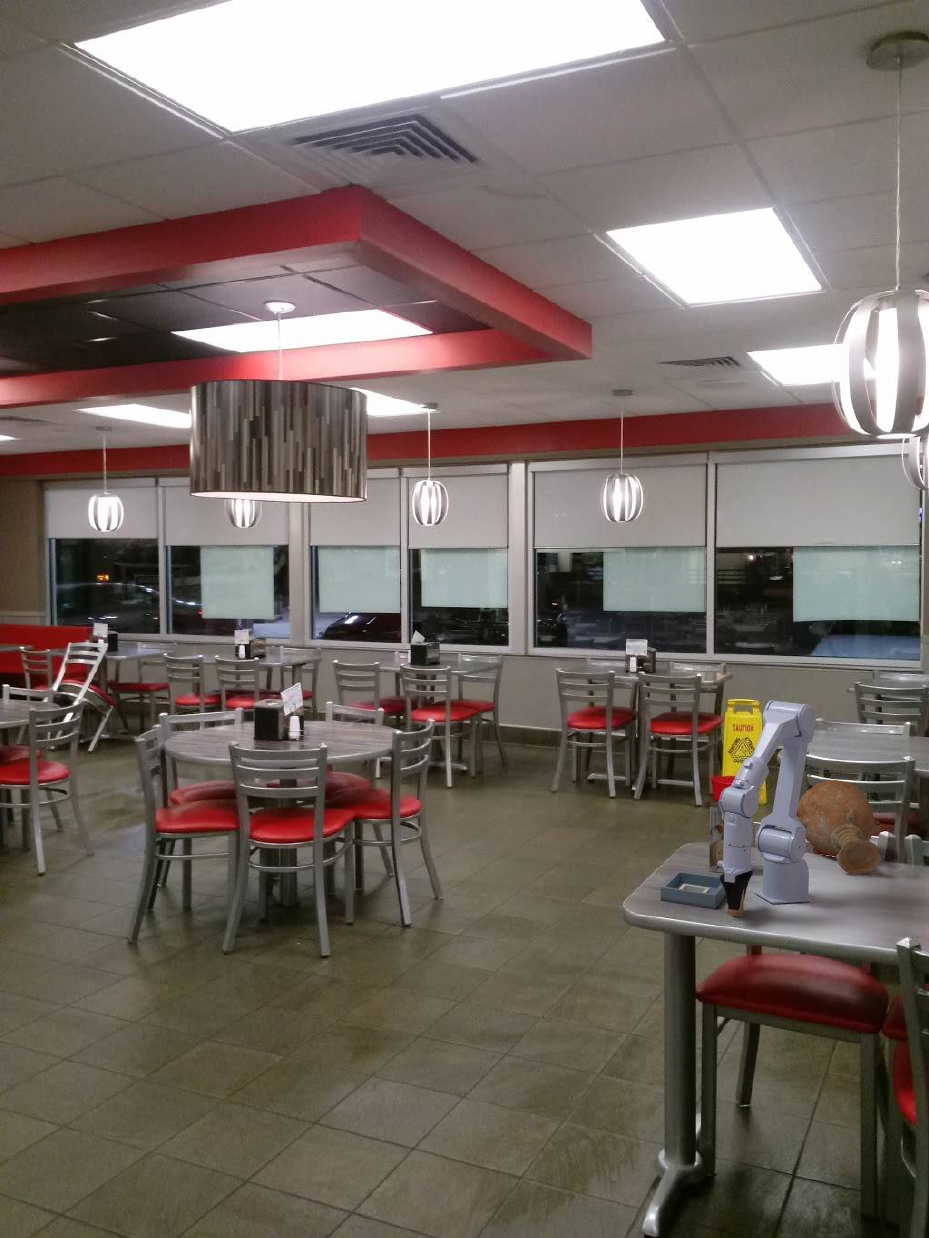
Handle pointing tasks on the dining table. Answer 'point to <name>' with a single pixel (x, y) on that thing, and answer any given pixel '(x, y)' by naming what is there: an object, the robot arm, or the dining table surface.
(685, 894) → the tray box
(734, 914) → the peg
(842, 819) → the jug
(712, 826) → the coffee box
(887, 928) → the dining table surface
